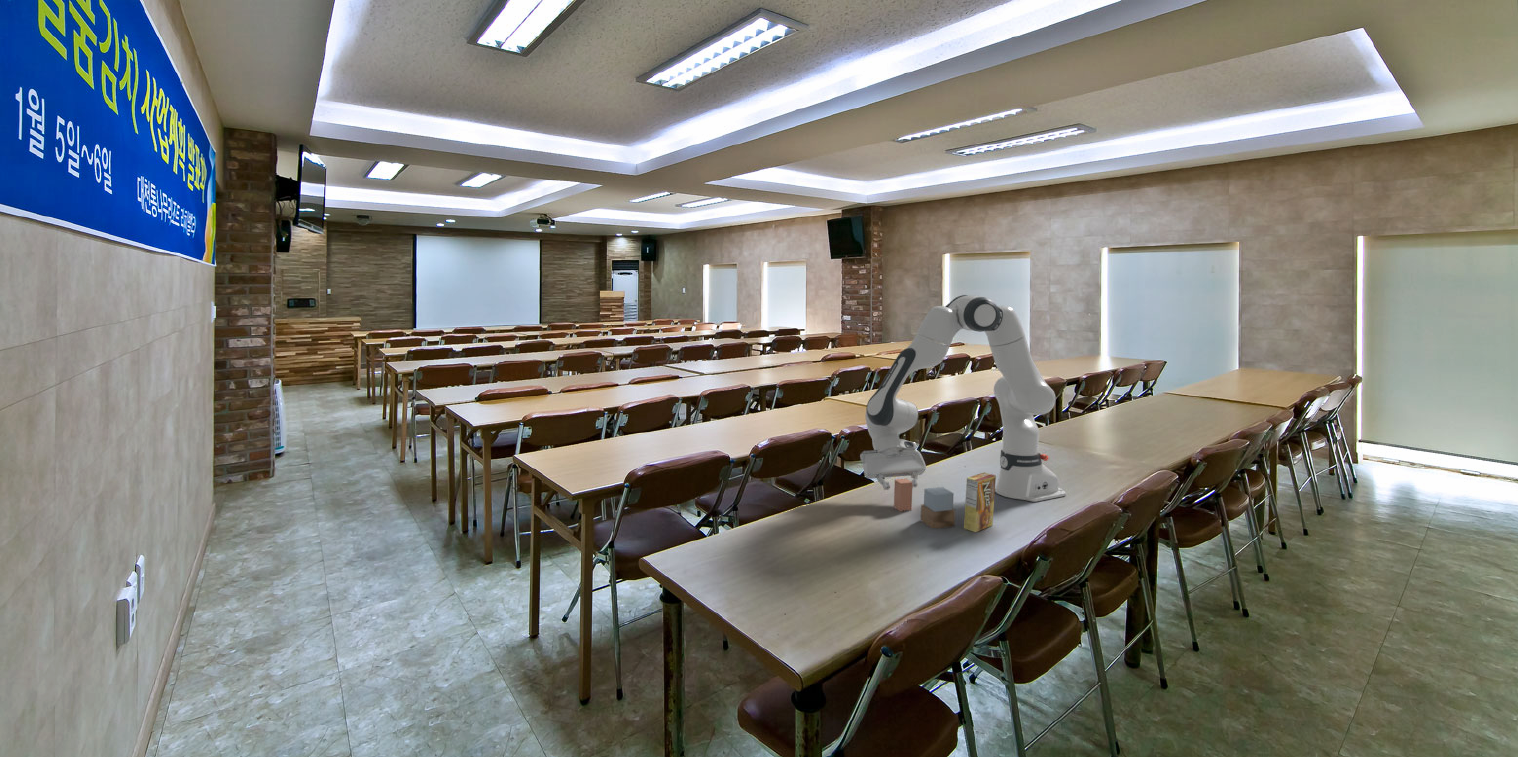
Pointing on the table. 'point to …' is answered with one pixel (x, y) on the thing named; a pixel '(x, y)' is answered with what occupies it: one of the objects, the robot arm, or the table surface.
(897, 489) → the post
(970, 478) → the candy box
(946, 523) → the tower base
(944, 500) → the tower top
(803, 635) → the table surface
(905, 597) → the table surface
